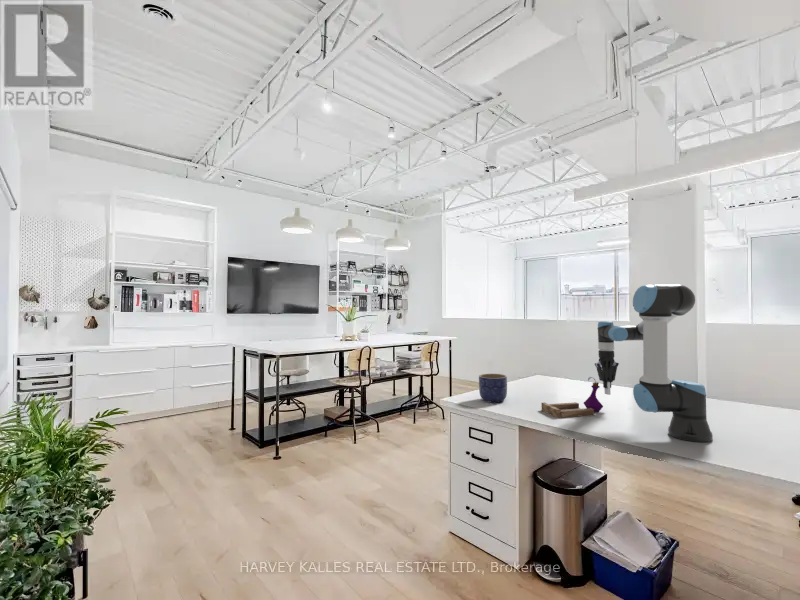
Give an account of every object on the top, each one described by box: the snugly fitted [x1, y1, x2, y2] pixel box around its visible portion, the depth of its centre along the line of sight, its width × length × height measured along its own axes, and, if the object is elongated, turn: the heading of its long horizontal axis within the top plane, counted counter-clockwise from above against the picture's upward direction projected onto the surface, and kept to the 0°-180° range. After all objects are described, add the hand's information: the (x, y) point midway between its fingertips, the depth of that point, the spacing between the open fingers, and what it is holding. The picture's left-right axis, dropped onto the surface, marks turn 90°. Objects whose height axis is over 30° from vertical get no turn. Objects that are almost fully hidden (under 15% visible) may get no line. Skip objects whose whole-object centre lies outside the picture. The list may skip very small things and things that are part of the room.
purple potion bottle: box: [583, 376, 604, 413], centre depth 208 cm, size 8×8×18 cm
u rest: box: [541, 402, 595, 419], centre depth 206 cm, size 15×20×4 cm
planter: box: [478, 373, 508, 404], centre depth 235 cm, size 17×16×15 cm
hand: (607, 394), depth 210 cm, fingers closed
